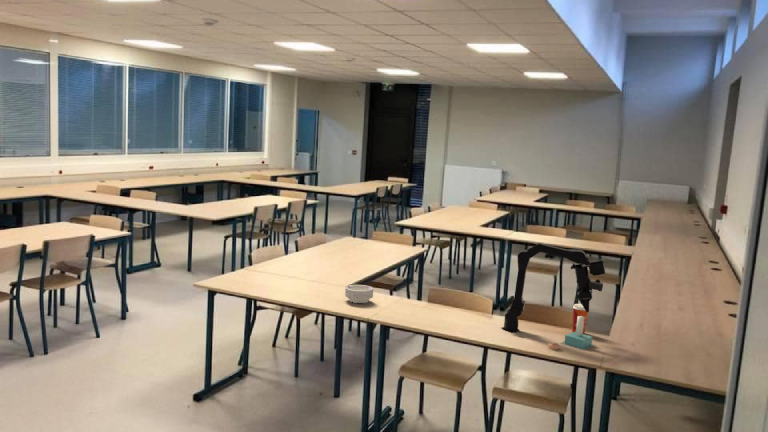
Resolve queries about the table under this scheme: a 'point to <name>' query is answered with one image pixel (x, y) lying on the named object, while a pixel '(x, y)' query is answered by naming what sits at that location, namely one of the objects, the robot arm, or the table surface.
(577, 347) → the grey mat
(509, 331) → the robot arm
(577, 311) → the paper cup
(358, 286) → the light grey bowl
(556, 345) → the terracotta bowl
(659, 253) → the table surface
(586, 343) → the teal cover
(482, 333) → the table surface
